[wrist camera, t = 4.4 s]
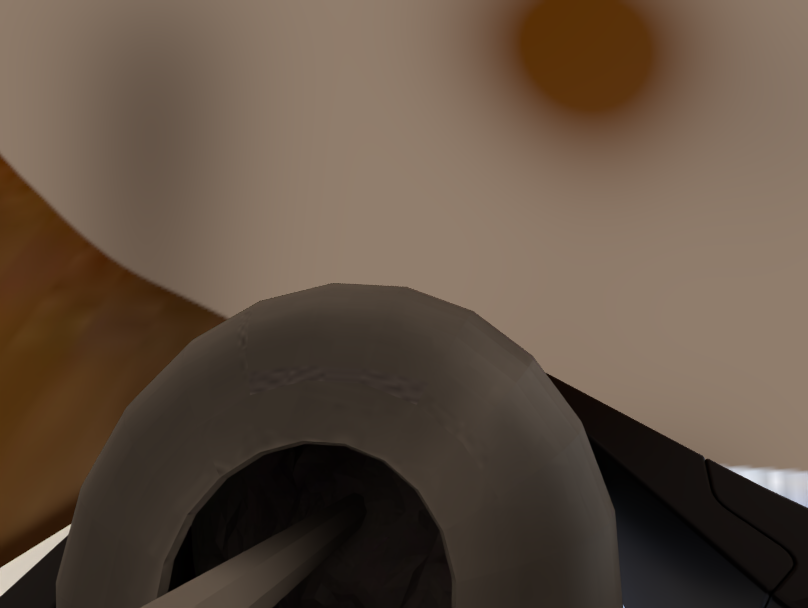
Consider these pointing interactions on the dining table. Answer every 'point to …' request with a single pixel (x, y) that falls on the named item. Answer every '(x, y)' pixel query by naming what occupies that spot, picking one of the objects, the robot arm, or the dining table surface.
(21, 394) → the dining table surface
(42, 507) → the dining table surface
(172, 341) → the dining table surface
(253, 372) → the beverage cup
